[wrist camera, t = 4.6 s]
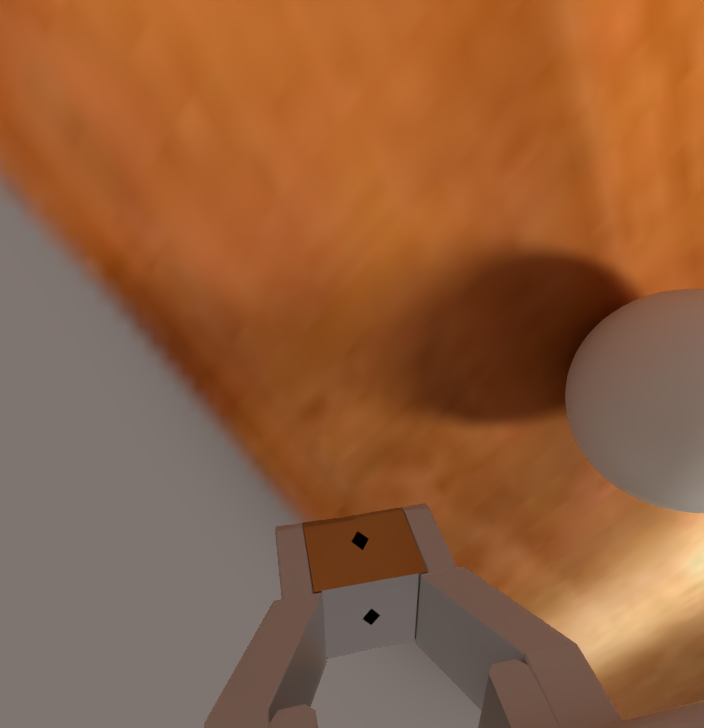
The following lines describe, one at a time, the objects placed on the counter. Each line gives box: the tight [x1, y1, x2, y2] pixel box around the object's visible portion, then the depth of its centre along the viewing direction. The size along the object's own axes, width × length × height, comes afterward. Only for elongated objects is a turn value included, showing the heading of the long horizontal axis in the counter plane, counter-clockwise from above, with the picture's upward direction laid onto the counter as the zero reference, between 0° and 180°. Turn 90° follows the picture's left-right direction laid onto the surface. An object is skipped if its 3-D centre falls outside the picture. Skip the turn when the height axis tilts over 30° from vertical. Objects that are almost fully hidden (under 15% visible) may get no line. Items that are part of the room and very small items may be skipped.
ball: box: [565, 289, 704, 513], centre depth 14 cm, size 6×6×6 cm
